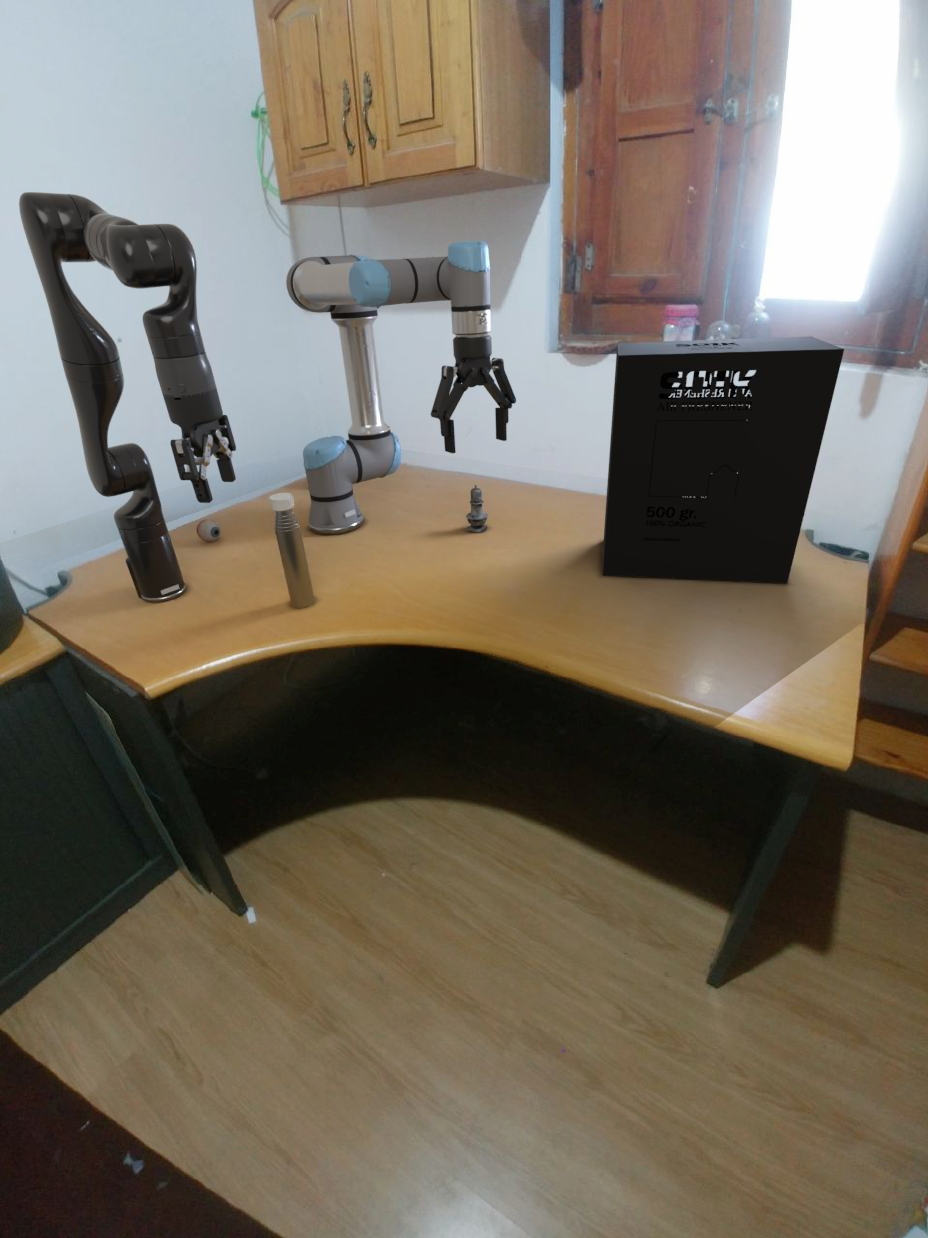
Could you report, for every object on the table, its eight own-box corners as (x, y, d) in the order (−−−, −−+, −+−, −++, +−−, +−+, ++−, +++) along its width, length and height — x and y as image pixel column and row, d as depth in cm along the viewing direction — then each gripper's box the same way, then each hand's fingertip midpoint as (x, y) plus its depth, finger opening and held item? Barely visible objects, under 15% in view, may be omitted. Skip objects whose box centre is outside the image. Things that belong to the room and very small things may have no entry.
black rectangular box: (766, 545, 143) (811, 336, 120) (787, 583, 126) (844, 348, 103) (603, 539, 150) (617, 342, 128) (602, 575, 133) (618, 355, 111)
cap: (266, 509, 119) (263, 498, 117) (283, 502, 122) (280, 491, 121) (282, 512, 116) (280, 501, 115) (299, 505, 120) (297, 494, 119)
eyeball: (210, 546, 160) (204, 525, 157) (195, 542, 163) (189, 521, 160) (228, 538, 164) (223, 518, 161) (213, 535, 167) (208, 514, 164)
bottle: (286, 605, 129) (262, 500, 118) (302, 595, 133) (281, 492, 121) (303, 610, 127) (280, 503, 115) (319, 600, 131) (299, 495, 119)
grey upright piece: (486, 532, 159) (485, 488, 152) (464, 532, 160) (462, 487, 154) (490, 524, 163) (488, 481, 157) (469, 523, 165) (466, 480, 159)
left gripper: (188, 375, 95) (215, 475, 104) (137, 399, 83) (173, 509, 92) (233, 375, 94) (257, 475, 103) (189, 399, 82) (220, 509, 91)
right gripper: (429, 342, 108) (437, 460, 118) (533, 329, 120) (532, 437, 131) (407, 340, 113) (417, 454, 124) (508, 328, 125) (510, 432, 136)
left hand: (217, 491), depth 97 cm, fingers open, 8 cm apart
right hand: (476, 445), depth 127 cm, fingers open, 13 cm apart
